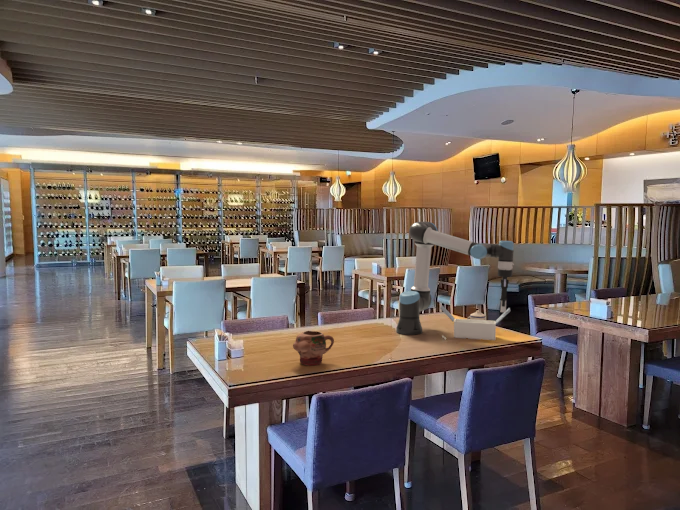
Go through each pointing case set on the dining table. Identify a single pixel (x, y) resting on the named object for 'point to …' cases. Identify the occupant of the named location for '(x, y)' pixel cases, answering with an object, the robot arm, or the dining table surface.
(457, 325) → the carton
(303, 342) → the brown sculpted mug
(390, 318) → the dining table surface
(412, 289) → the robot arm
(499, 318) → the flap
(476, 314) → the teacup with lid
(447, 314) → the flap
